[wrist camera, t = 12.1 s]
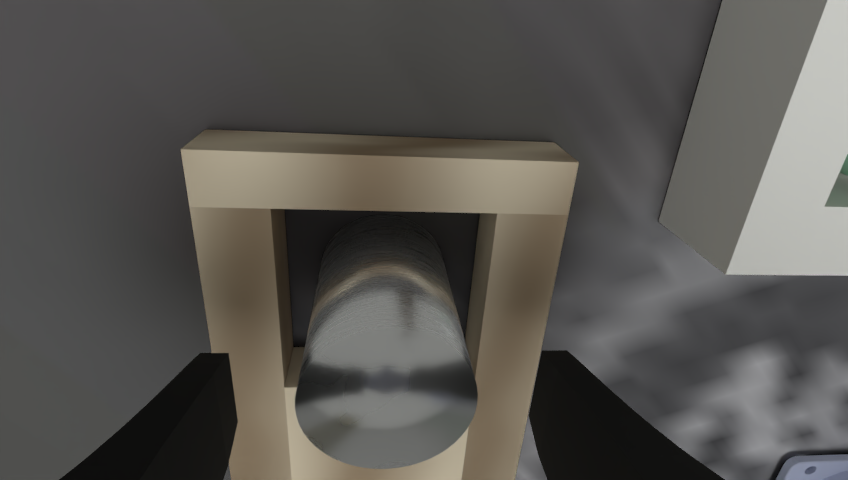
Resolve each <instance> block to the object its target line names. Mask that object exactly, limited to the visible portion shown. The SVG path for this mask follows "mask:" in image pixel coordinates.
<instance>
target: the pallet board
mask: <svg viewBox="0 0 848 480" xmlns="http://www.w3.org/2000/svg"><path fill="white" fill-rule="evenodd" d="M181 155H182V162H183V168H184V175H185V181H186V188H187V194H188V201H189V207H190V214H191V220H192V227H193V233H194V240H195V246H196V253H197V259H198V266H199V272H200V279H201V285H202V292H203V298H204V305H205V311H206V318H207V324H208V331H209V337H210V344H211V350H212V353H229V359H230V367H231V374H232V382H233V389H234V396H235V404H236V411H237V419H238V423H237V428H236V432H235V437H234V442H233V446H232V450H231V455H230V459H229V467H230V473H231V480H515V476H516V471H517V466H518V461H519V457H520V452H521V447H522V442H523V437H524V432H525V427H526V422H527V417H528V412H529V407H530V402H531V397H532V392H533V387H534V382H535V377H536V372H537V368H538V363H539V358H540V353H541V348H542V343H543V338H544V333H545V328H546V323H547V318H548V313H549V308H550V303H551V298H552V293H553V288H554V283H555V278H556V274H557V269H558V264H559V259H560V254H561V249H562V244H563V239H564V234H565V229H566V224H567V219H568V214H569V209H570V204H571V199H572V194H573V189H574V185H575V180H576V175H577V170H578V165H579V162H578V161H577V160H575V159H574V158H573V157H572V156H570V155H569V154H568V153H567V152H566V151H564V150H563V149H562V148H561V147H559V146H558V145H557V144H556V143H554V142H531V141H504V140H477V139H450V138H423V137H396V136H369V135H343V134H316V133H289V132H262V131H235V130H208V129H205V130H204V131H203V132H202V133H200V134H199V135H198V136H197V137H195V138H194V139H193V140H192V141H190V142H189V143H188V144H187V145H185V146H184V147H183V148H182V149H181ZM285 209H307V210H355V211H403V212H451V213H480V217H479V225H478V234H477V242H476V251H475V259H474V268H473V276H472V284H471V293H470V301H469V310H468V318H467V327H466V335H465V343H466V347H467V351H468V354H469V358H470V362H471V366H472V369H473V373H474V377H475V381H476V384H477V392H478V400H477V407H476V411H475V414H474V417H473V419H472V421H471V423H470V425H469V426H468V428H467V430H466V431H465V432H464V433H463V435H462V436H461V437H460V438H459V439H458V440H457V441H456V442H455V443H454V444H453V445H451V446H450V447H449V448H448V449H446V450H445V451H443V452H441V453H440V454H438V455H436V456H434V457H432V458H430V459H428V460H426V461H423V462H420V463H417V464H414V465H410V466H406V467H400V468H391V469H371V468H362V467H357V466H353V465H349V464H346V463H343V462H341V461H338V460H336V459H334V458H332V457H330V456H328V455H326V454H325V453H323V452H322V451H321V450H319V449H318V448H317V447H315V446H314V445H313V444H312V443H311V442H310V441H309V439H308V438H307V437H306V435H305V434H304V433H303V431H302V429H301V427H300V425H299V423H298V420H297V417H296V411H295V396H296V391H297V385H298V380H299V375H300V370H301V365H302V360H303V354H304V349H305V347H294V346H293V331H292V316H291V300H290V285H289V270H288V254H287V239H286V224H285Z"/></svg>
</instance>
